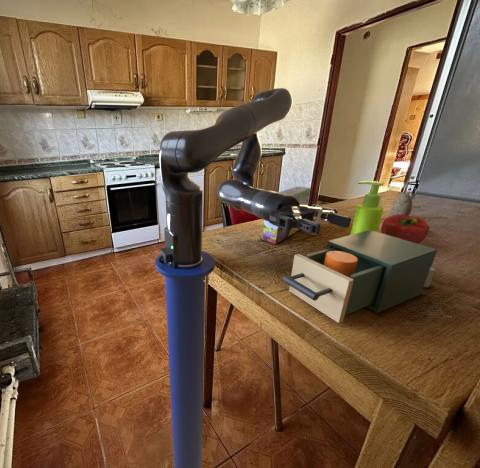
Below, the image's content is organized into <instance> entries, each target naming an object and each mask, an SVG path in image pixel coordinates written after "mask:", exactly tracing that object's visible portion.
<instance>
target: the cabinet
mask: <svg viewBox="0 0 480 468" xmlns="http://www.w3.org/2000/svg"><path fill="white" fill-rule="evenodd" d="M333 247H336V248H339V249H341V250H344V251H346V252H349V253H351V254H354V255H357V256H359V257H362V258H364V259H367V260H370V261H372V262H375V263H377V264H380V265H382V266H385V267H386V271H385V274H384V277H383V280H382V283H381V287H380V290H379V293H378V296H377V300H376V303H374V304H371V305H369V306H366V307H365V308H367V309H368V310H371V311H372V312H374V313H376V314H379V313H381V312H383V311H386V310H388V309H390V308H393V307H395V306H397V305H399V304H402V303H404V302H406V301H408V300H411V299H413V298H416V297H418V296H420V295H421V294H422V291H423V289H424V287H423V286H424V284H425V281H426V278H427V276H428V273H429V271H430V268H432V265H433V263H434V260H435V257H436V254H437V252H438V249H437V248H434V247H430V246H427V245H423V244H421V243H420V244H417V243H413V242H410V241H406V240H403V239H399V238H396V237H393V236H389V235H386V234H382V233H381V232H378V231H377V232H375V231H372V230H368V231H365V232H361V233H357V234H353V235H350V234H349V235H345V236H341V237H338V238H334V239H330V240H327V242H326V246H325V249H329V248H333Z"/></svg>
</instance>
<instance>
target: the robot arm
mask: <svg viewBox="0 0 480 468" xmlns="http://www.w3.org/2000/svg"><path fill="white" fill-rule="evenodd" d="M293 100H294V99H293V96H292V93H291V92H290V90H289V89H287V88H285V87H277V88H272V89H266V90H263V91H262V90H261V91H259V92H257V93H256V94H255V95H254V97H253V99H252V101H249V102H243V103H241V104H237V105H235V106H233V107H231V108H228V109H226V110H224V111H222V112H221V114H219V116H218V117H217V118H216V120H215V123H214V124H213V125H211V126H210V125H209V126H208V127H205V128H201V129H192V130H189V129H188V130H175V131H169V132H167V133H166V134H164V135H163V137H162V139H161V141H160V144H159V151H158V152H159V153H158V156H159V157H158V158H159V170H160V180H161V188H162V190H163V192H164V195H165V214H166V216H165V217H166V218H165V219H166V226H165V227H164V228H163V233H164V247H162V248H159V250H158V251H159V255H160V257H159V258H158V261H159V262H160V263H162V264H164V263H169V264H170V265H171V266H172V267H173V268H174V269H176V268H182V269H187V268H194V267H196V266H198V265H200V264H201V263H202V251H203V207H204V206H203V199H204V197H203V195H204V194H203V189H202V187H201V186H200V185H198V184H197V183H196V182H194V181H193V180H192V178H191V176H190V174H193V173H194V174H195V173H199V172H201V171H203V170H205V169H206V168H207V167H208V166H210V164H212V163H213V162H214V161H216V160H217V159H218V158H219V157H220V156H221V155H223V154H224V153H225V152H227V151H229V150H231V149H232V148H234V147H235V146H237V145H239V144H241V145H240V148H239V151H238V153H237V156H236V158H235V161H234V162H233V166H232V169H231V174H232V176H233V177H234V178H235V179H234V178H233V179H232V178H229V179H226V180H224V181H222V182H221V183H220V184H219V185H218V186H217V191H216V192H217V193H216V194H217V196H218V199H219V200H220V201H222V202H223V203H224V204H226V205H228V206H230V207H231V208H233V209H234V210H237V211H240V210H242V211H244V212H247V213H248V214H251V215H253V216H256V217H257V218H260V219H261V220H264V221H265V220H266V221H269V223H271V224H273V225H275V226H278V227H280V228H282V229H285V230H287V231H289V230H291V228H293V229H295V230H299V231H302V232H305V233H308V234H311V235H313V236H315V235H316V236H317V235H319V234H320V230H321V224H320V223H326V224H331V225H334V226H338V227H340V228H343V229H348V228H350V226H351V222H352V218H351V217H350V216H346V215H344V214H343V215H342V214H339V209H336V208H333V207H328V206H323V205H319V204H316V203H314V204H311V206H309V205H300V204H299V202H298V200H297V199H296V198H295V197H294V196H291V195H287V194H283V193H279V192H280V191H274V190H266V189H262V188H257V187H254V182H255V175H256V173H257V169H258V167H259V164H260V162H261V159H262V152H263V151H262V145H261V141H260V136H259V132H260V131H261V130H264V129H265V128H266V127H268V126H270V125H273V124H274V123H277V122H280V121H282V120H284V119H285V118H286V117H287V116H288V115H289V114H290V112H291V109H292V107H293ZM314 217H316V218H315V219H314Z"/></svg>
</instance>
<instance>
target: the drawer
mask: <svg viewBox="0 0 480 468" xmlns="http://www.w3.org/2000/svg"><path fill="white" fill-rule="evenodd" d="M329 251H342V252H346V251H344V250H341V249H339V248H336V247H333V248H329V249H326V248H325V249H322V250H318V251H315V252H311V253H306V254H305V255H303V254H301V253H297V254H294V256H293V262H292V268H291V269H292V270H291V275H290V276H289V275H287V274H286V275H284V276H283V278H282V282H283V283H285V284H287V285H288V286H289V288H288V291H289V292H290V293H292V294H293V295H295V296H296V297H298V298H300V299H301V300H302V301H304V302H306V304H308V305H310V306H312V307H313V308H314V309H317V310H318V311H319V312H321V313H322V314H324V315H325V316H327V317H329V318H330V319H332V320H333V321H334V322H336V323H337V324H340V323H342V322H344V319H345V316H347V315H350V314H352V313H354V312H357V311H359V310H361V309H363V308H366V306H369V305H371V304H374V303H376V300H377V296H378V293H379V290H380V287H381V283H382V280H383V277H384V274H385V271H386V267H385V266H382V265H380V264H377V263H375V262H372V261H370V260H367V259H364V258H362V257H359V256H357V255H354V254H352V255H354V256H355V257H357V259H358V261H357V265H356V269H355V273H354V274H352V275H350V278H349V277H347V276H345V275H343V274H341V273H339V272H336V271H334V270H332V269H330V268H328V267H326V266H324V262H325V257H326V253H327V252H329ZM346 253H349V252H346ZM349 254H351V253H349Z"/></svg>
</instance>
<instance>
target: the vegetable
mask: <svg viewBox="0 0 480 468" xmlns="http://www.w3.org/2000/svg"><path fill="white" fill-rule="evenodd" d="M380 231H381V232H380V233H382V234H386V235H389V236H393V237H396V238H399V239H403V240H406V241H410V242H413V243H417V244H420V245H421V243H422V242H423V241H424V240H425V239H426V237H427V236H428V234H429V232H430V225H429V224H428V223H427V222H426V220H425V219H422V218H421V217H414V216H410V215H408V216H407V215H402V214H398V215H394V216H392V215H391V216H388V217H386V218H385V219H383V221H382V224H381V229H380Z"/></svg>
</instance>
